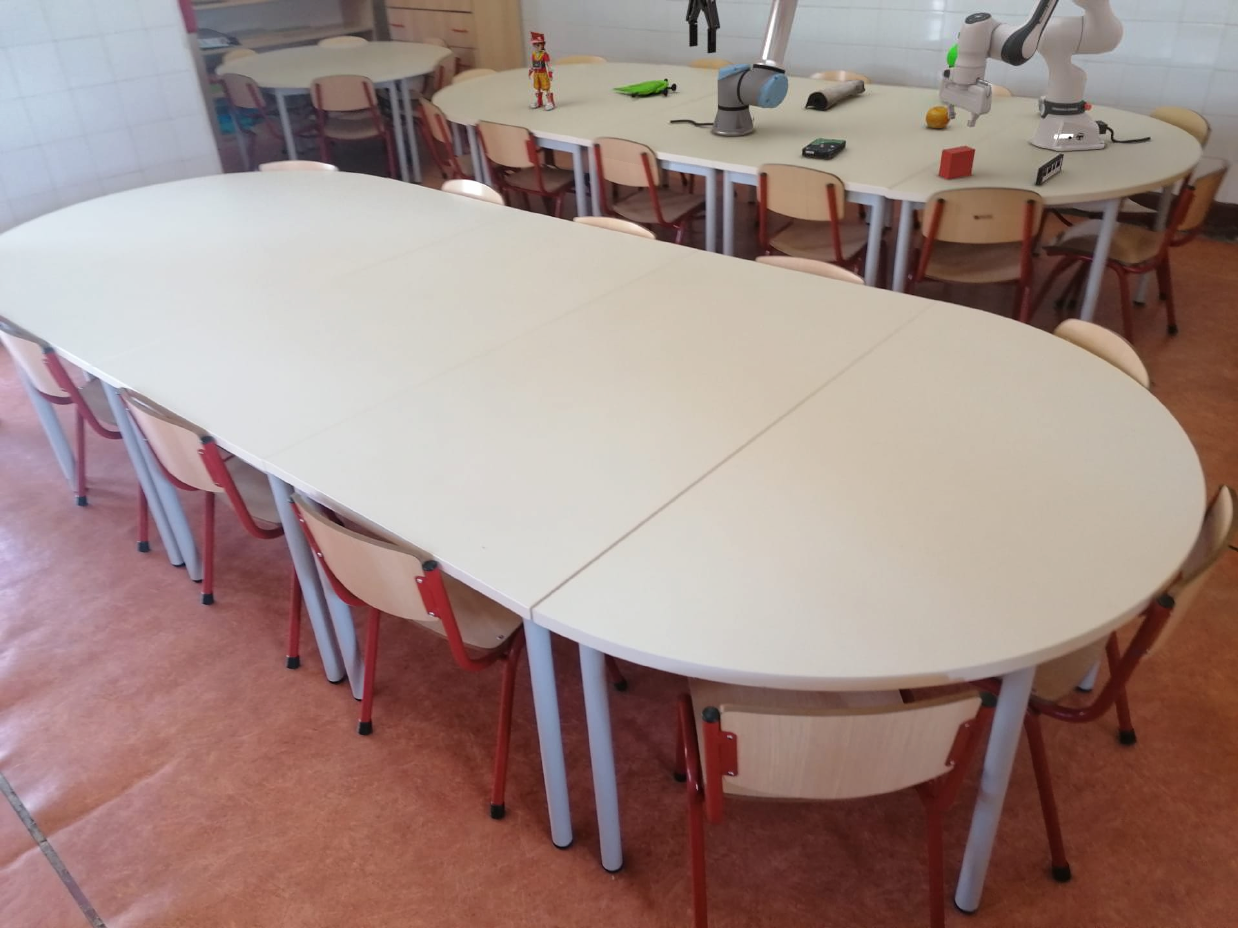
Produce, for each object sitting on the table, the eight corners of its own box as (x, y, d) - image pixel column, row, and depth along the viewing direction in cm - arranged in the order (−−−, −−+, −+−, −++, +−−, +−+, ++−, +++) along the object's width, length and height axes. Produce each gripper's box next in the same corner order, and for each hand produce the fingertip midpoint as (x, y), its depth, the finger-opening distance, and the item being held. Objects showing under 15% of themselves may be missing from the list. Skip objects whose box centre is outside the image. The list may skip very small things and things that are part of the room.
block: (971, 175, 281) (975, 149, 276) (947, 179, 279) (952, 153, 274) (961, 171, 284) (965, 145, 280) (938, 175, 282) (942, 150, 278)
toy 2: (686, 85, 398) (631, 84, 414) (685, 72, 395) (629, 72, 411) (651, 104, 381) (596, 103, 397) (650, 92, 378) (594, 91, 394)
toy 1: (525, 109, 381) (517, 32, 364) (534, 104, 388) (527, 28, 371) (550, 110, 377) (543, 32, 360) (559, 105, 384) (553, 28, 367)
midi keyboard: (1039, 185, 269) (1043, 168, 266) (1035, 184, 270) (1038, 168, 267) (1060, 170, 279) (1064, 154, 277) (1056, 169, 280) (1060, 153, 277)
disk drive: (830, 160, 301) (845, 148, 311) (830, 152, 299) (846, 140, 309) (801, 157, 305) (817, 145, 315) (801, 148, 304) (818, 137, 314)
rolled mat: (840, 84, 376) (857, 68, 368) (852, 102, 376) (869, 87, 368) (801, 102, 358) (818, 86, 350) (814, 122, 359) (831, 106, 351)
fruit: (920, 119, 323) (935, 99, 320) (921, 122, 331) (935, 102, 328) (940, 132, 322) (955, 112, 319) (940, 135, 329) (955, 115, 326)
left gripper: (731, -22, 270) (730, 54, 282) (696, -29, 289) (696, 42, 301) (709, -20, 267) (708, 57, 280) (675, -27, 287) (676, 45, 299)
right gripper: (1001, 81, 258) (992, 130, 266) (956, 66, 274) (949, 113, 282) (982, 84, 256) (974, 133, 265) (938, 69, 272) (932, 116, 280)
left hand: (702, 49), depth 290 cm, fingers open, 13 cm apart
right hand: (961, 122), depth 273 cm, fingers open, 8 cm apart
